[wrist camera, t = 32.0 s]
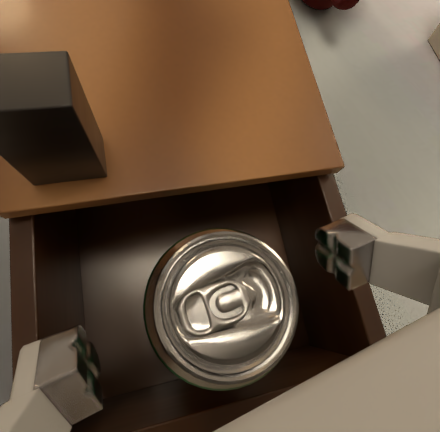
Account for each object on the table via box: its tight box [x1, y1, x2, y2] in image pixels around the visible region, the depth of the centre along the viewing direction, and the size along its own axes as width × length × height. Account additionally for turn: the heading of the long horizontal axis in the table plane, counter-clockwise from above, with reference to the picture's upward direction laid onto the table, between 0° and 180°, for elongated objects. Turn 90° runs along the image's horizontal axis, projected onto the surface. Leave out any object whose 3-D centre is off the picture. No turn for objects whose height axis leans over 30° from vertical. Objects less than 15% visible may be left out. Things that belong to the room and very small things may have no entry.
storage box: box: [9, 173, 386, 432], centre depth 18 cm, size 16×14×8 cm
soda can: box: [143, 228, 299, 391], centre depth 14 cm, size 5×5×12 cm
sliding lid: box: [0, 0, 344, 219], centre depth 14 cm, size 16×14×6 cm
